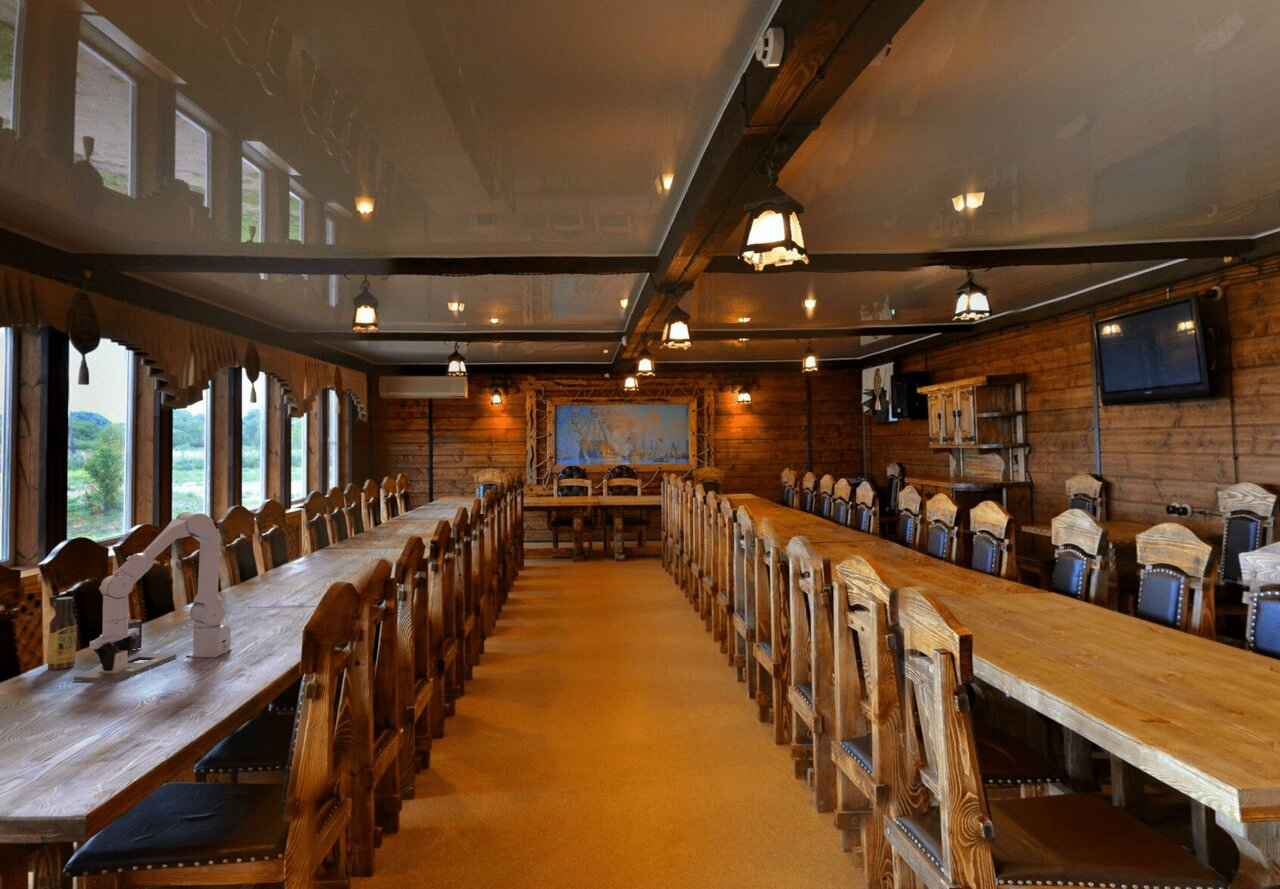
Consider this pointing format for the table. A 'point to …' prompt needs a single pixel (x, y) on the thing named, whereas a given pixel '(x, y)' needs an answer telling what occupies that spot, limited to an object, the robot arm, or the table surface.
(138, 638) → the flask
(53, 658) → the sauce bottle
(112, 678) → the panel
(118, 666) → the plug
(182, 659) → the table surface
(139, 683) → the table surface
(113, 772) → the table surface
